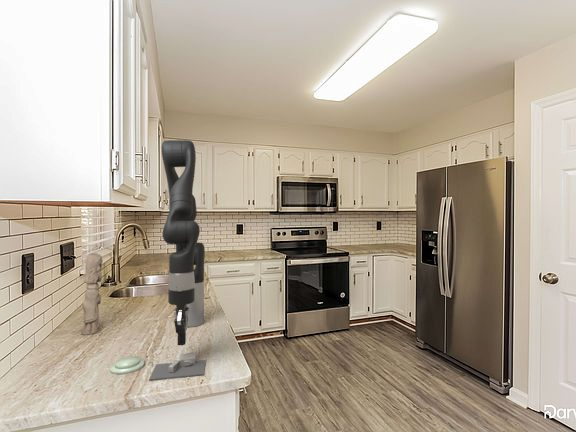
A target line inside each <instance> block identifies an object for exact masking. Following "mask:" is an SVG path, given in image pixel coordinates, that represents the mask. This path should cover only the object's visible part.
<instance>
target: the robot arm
mask: <svg viewBox="0 0 576 432" xmlns="http://www.w3.org/2000/svg"><path fill="white" fill-rule="evenodd" d="M160 149H161V156H162V157H161V158H162V161H163V162H162V163H163V166H164V167H163V168H164V171H165V177H166V181H167V186H168V188H167V189H168V197H169V207H168V209H169V210H168V215H167V217H166V220H165V222H164V226H163V229H162V238H163V240H164V243H166V244H167V245H175V252H171V253H170V255H169V257H168V258H169V259H168V268H169V269H168V270H169V272H168V283H167V285H168V288H167V289H168V290H167V291H168V300H167V301H168V304H169V305H172V306H176V307H175V309H174V311H173V317H174V321H173V322H174V329H175V333H176V334H177V345H178V346H185V345H186V343H187V330H188V329H187V328H192V327H193V328H194V327H199V326H201V325H203V324H204V323H205V258H206V257H205V254H206V250H205V245H204V243H203V242H198V241H199V237H200V232H201V228H200V226H199V223H198V222H196V221H195V220H196V218H197V215H198V213H197V203H196V202H197V201H196V197H195V196H194V194H193V189H194V181H195V174H196V164H197V163H196V162H197V161H196V160H197V159H196V158H197V157H196V147H195V144H194V142H192V141H191V140H190V139H189V140H188V139H187V140H182V139H181V140H179V139H178V140H175V139H174V140H164V141H162V143H161V147H160ZM176 168H184V170H183V172H182V173H181V175H180V176H179V175H178V173H177V171H176Z"/></svg>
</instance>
